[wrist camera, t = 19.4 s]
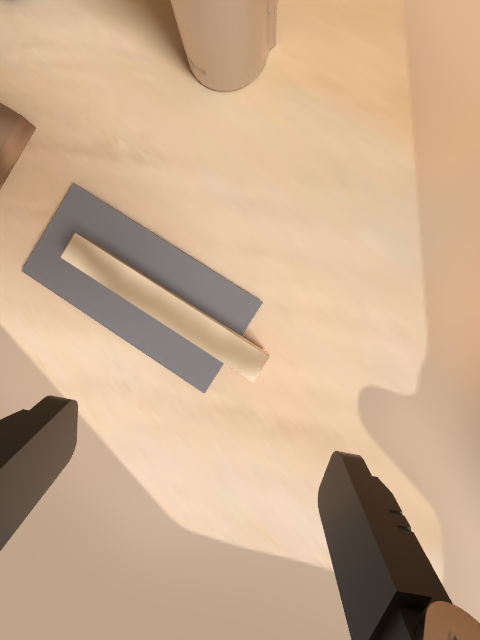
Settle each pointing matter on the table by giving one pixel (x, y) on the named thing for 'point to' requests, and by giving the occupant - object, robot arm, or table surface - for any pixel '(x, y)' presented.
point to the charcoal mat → (152, 260)
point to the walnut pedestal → (12, 139)
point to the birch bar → (166, 307)
